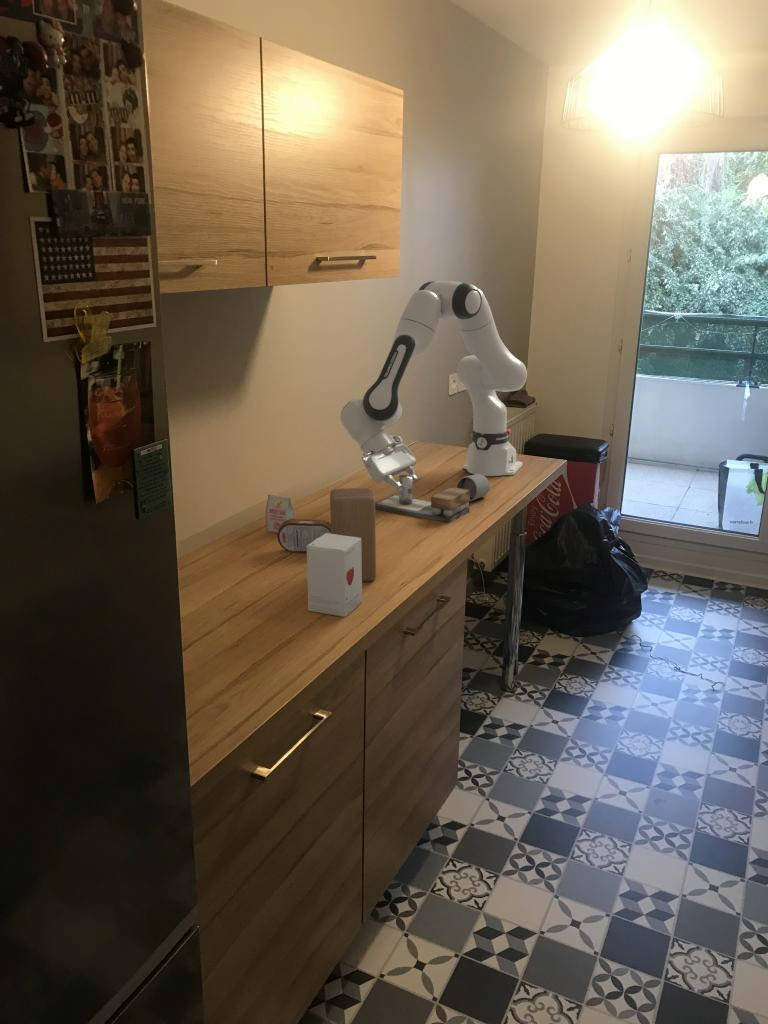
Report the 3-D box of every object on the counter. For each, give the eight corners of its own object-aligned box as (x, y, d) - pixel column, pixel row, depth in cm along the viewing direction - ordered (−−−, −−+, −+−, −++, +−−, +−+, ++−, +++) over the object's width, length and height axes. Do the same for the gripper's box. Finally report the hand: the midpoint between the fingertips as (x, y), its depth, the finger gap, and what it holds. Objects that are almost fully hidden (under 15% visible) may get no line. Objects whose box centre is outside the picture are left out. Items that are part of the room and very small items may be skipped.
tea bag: (274, 527, 230) (272, 492, 227) (294, 531, 227) (293, 495, 224) (266, 531, 227) (264, 496, 224) (287, 535, 224) (285, 499, 221)
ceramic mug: (491, 497, 256) (491, 473, 254) (476, 503, 250) (476, 479, 248) (462, 492, 263) (462, 468, 260) (447, 498, 257) (447, 474, 254)
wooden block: (332, 568, 201) (329, 488, 195) (373, 566, 202) (372, 486, 196) (332, 583, 192) (330, 500, 185) (376, 582, 192) (375, 499, 186)
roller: (403, 500, 249) (403, 474, 247) (415, 502, 247) (415, 476, 245) (396, 503, 246) (396, 477, 244) (408, 505, 244) (408, 479, 242)
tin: (337, 550, 213) (336, 519, 210) (335, 554, 210) (335, 523, 207) (279, 549, 214) (278, 517, 212) (277, 553, 211) (275, 521, 209)
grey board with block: (393, 498, 256) (393, 477, 254) (469, 511, 243) (469, 489, 241) (371, 508, 246) (371, 487, 244) (449, 522, 233) (450, 500, 231)
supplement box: (345, 618, 174) (343, 550, 169) (307, 611, 177) (304, 545, 173) (363, 602, 182) (362, 537, 177) (326, 595, 185) (324, 531, 180)
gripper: (365, 448, 237) (395, 486, 234) (403, 435, 253) (431, 470, 251) (353, 462, 240) (382, 499, 238) (390, 447, 257) (418, 483, 255)
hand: (407, 484), depth 245 cm, fingers open, 8 cm apart
